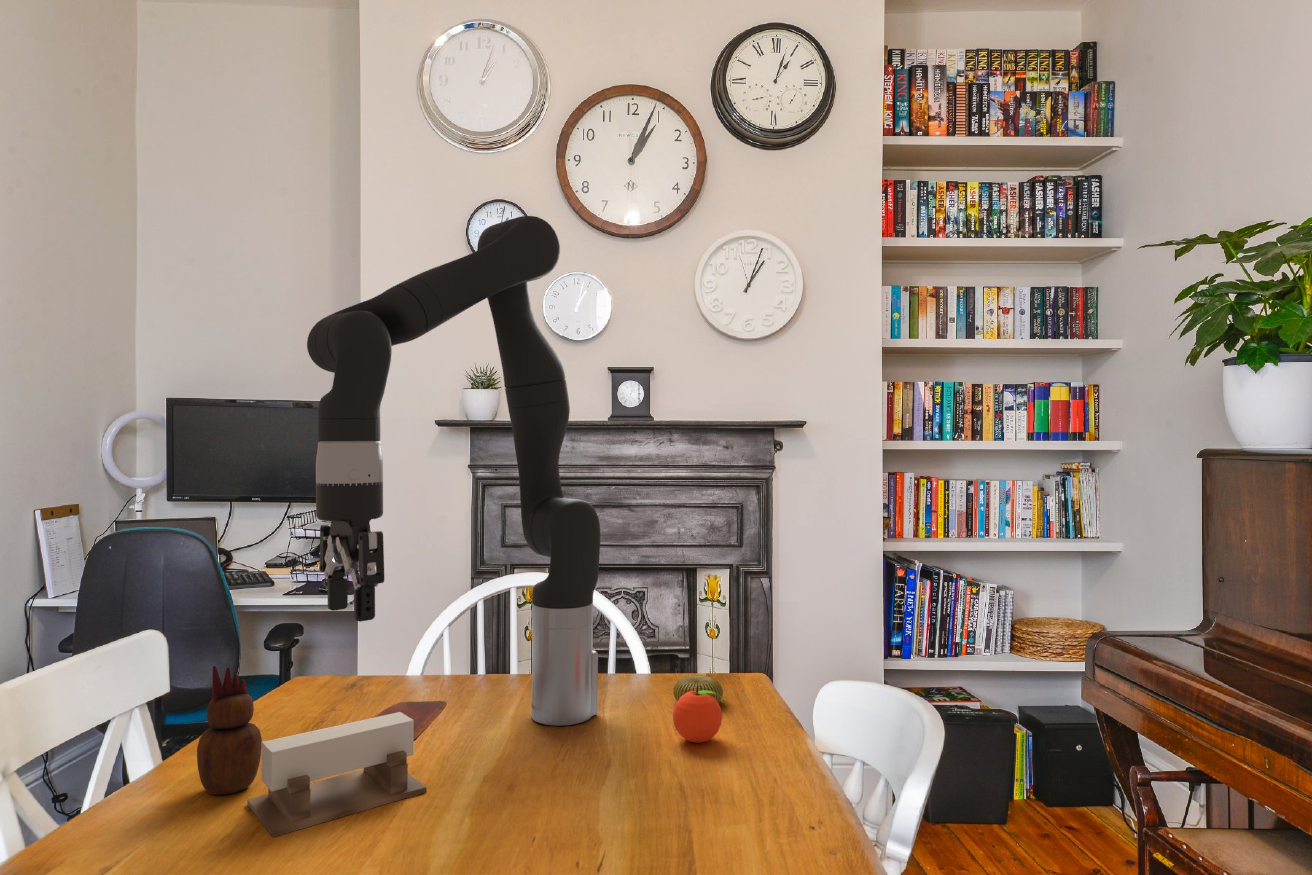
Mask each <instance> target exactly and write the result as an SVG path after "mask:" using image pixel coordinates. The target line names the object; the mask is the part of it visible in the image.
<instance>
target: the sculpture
mask: <svg viewBox="0 0 1312 875" xmlns="http://www.w3.org/2000/svg"><path fill="white" fill-rule="evenodd" d="M695 690H698V691H702V690H707V691H712V692H714V693H716V694H713V693H709V694H710V695H711V696H713V697H714V698H715V699H716V700H717V702H718V703H719V704H720V702H721V701H722V700H723V699H722V698H723V695H724V689H723V686H722V685H721V683H720V681H718V680H717V679H716V678H714V677H712V676H710V675H709V676H708V675H700V674H699V675H698V674H694V675H686V676H683V677H681V678H679V679H678V680H677V681H676V682H675V684H674V686H673V693H672V694H673V697H674V699H675V700H676V702H677V701H678V700H679V699H680V697H681V696H683V695H684V694H685V693H687V692H689V691H695ZM717 694H718V695H717ZM719 695H720V696H721V697H722V698H721V697H720V696H719Z"/></svg>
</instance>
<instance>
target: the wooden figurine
mask: <svg viewBox="0 0 1312 875" xmlns="http://www.w3.org/2000/svg"><path fill="white" fill-rule="evenodd" d="M219 674H220V673H219V671H218V668H217V666H216V665H213V666H212V686H211V687H212V689H211V691H212V692H211V693H212V695H211V696H212V699H211V700H210V701H209V702H208V705H207V708H206V717H205V718H206V722H207V725H208V726H209V727H210V728H208V729H206V730H204V732H203V733H202V735H201V736H199V739H198V740H199V741H198V743H197V747H196V762H197V765H196V766H197V771H198V775H199V780H200V783H201V785H202V786H203V789H204V790H205V791H206V792H207V793H208V794H211V795H231V794H235V793H238V792H240V791H243V790H245V789H247V788H249V787H250V786H251V785H252V784H253V782H254V781H255V779H256V777H257V775H258V771H259V767H260V764H261V759H262V742H263V739H262V738H263V737H262V733H261V730H260V728H259V727H258V726H257V725H256V723H255V724H254V723H252V722H250V721H251V720H252V718H253V716H254V709H255V708H254V706H255V705H254V701H253V698H252V696H250V694H249V693H248V692H249V691H248V687H247V682H246V679H244V678H242V679H241V681H240V680H239V675H238V674H237V673H235V674H234V677H233V681H232V674H231V669H230V666H227V667H226V668H225V673H224V678H223V683H222V681H221V678H220V675H219Z"/></svg>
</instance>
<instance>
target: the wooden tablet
mask: <svg viewBox="0 0 1312 875" xmlns="http://www.w3.org/2000/svg"><path fill="white" fill-rule="evenodd" d="M446 706H447V701H445V700H433V701H432V700H430V701H428V700H426V701H425V700H423V701H401V702H397V703H394V704H393V705H390V706H389V707H387V708H385V709H384V710H381V711H380V712H379V713H378V714H376V715H374V716H372V717H371V718H374V717H379V716H384V715H388V714H393V713H397V712H401V713H403V714H404V715H406V716H408V717H409V718H411V719H413V720H414V734H413V742H414V740H416V739H417V738H418V737H419V736H420V735H421V734H422V733H423V732H424V730H426V729H427V728H428V727H429V726H430V724H431V723H432V722H433V721H434V720H435V719H436V718H437V717H438V716H439V715H440V713H442V711H443V710H444V709H445V708H446Z"/></svg>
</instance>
